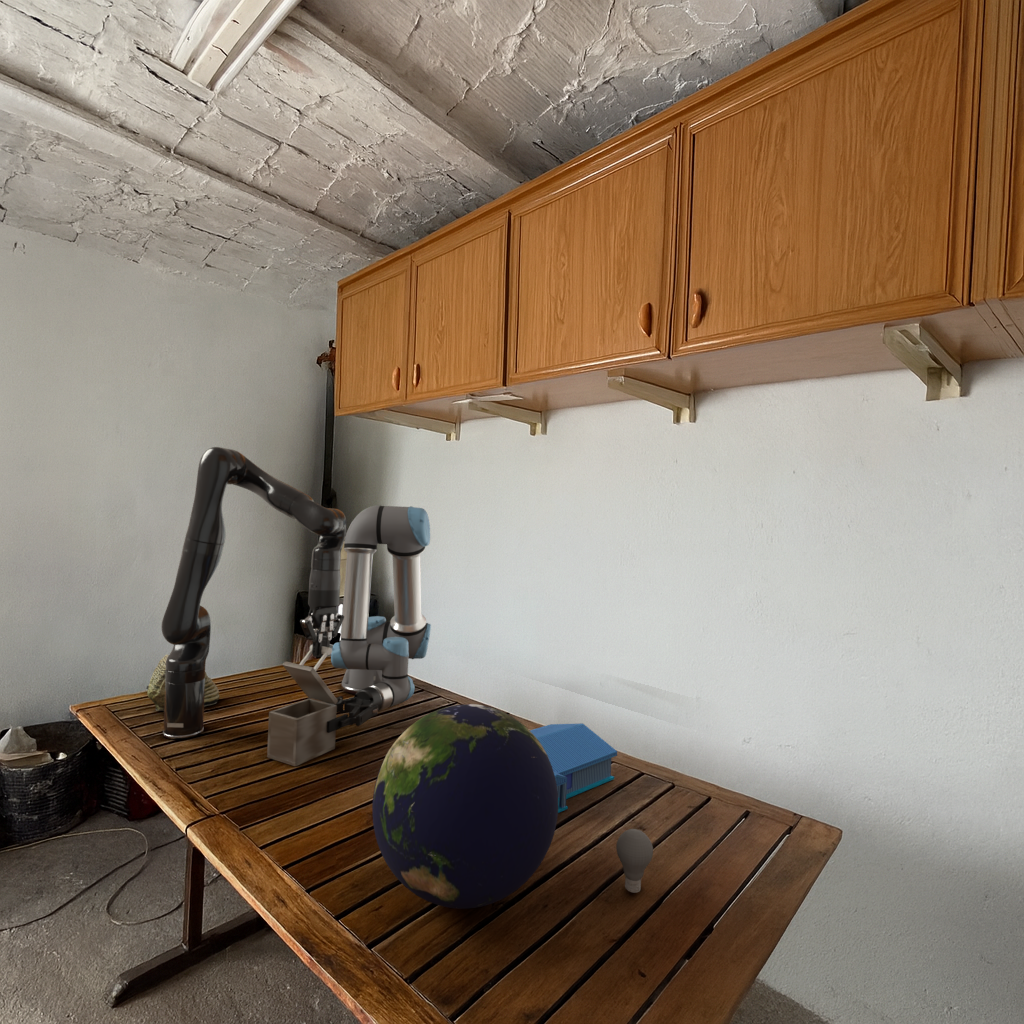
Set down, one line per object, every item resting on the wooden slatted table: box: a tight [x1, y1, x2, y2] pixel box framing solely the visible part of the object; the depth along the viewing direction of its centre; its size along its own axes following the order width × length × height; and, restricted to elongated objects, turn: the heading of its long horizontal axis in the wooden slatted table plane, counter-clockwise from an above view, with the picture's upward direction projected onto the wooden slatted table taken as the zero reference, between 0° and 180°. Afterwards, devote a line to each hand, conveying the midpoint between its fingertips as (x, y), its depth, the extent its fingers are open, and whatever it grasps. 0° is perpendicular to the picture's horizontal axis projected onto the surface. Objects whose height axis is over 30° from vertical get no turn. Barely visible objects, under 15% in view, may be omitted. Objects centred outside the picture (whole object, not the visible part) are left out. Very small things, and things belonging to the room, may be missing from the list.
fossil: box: [147, 654, 221, 712], centre depth 185 cm, size 9×18×15 cm, turn 132°
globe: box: [371, 703, 559, 910], centre depth 103 cm, size 30×30×30 cm
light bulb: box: [615, 828, 654, 894], centre depth 106 cm, size 6×6×10 cm
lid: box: [282, 643, 338, 705], centre depth 160 cm, size 14×10×9 cm
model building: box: [529, 722, 618, 814], centre depth 142 cm, size 39×24×10 cm, turn 132°
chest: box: [266, 698, 337, 767], centre depth 156 cm, size 13×10×11 cm
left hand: (320, 655), depth 160 cm, fingers closed on lid, 2 cm apart
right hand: (312, 722), depth 159 cm, fingers closed on chest, 9 cm apart
